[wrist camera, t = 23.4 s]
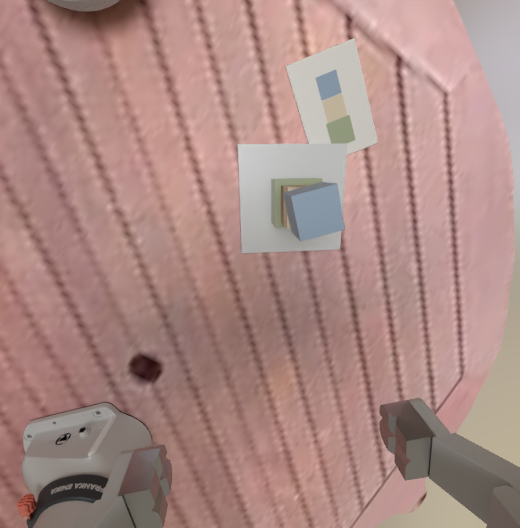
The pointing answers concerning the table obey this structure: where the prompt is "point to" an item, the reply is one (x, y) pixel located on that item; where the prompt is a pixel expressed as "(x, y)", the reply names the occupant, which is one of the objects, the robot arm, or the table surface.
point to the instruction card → (333, 98)
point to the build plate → (260, 191)
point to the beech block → (283, 207)
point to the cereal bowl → (84, 4)
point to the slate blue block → (314, 210)
